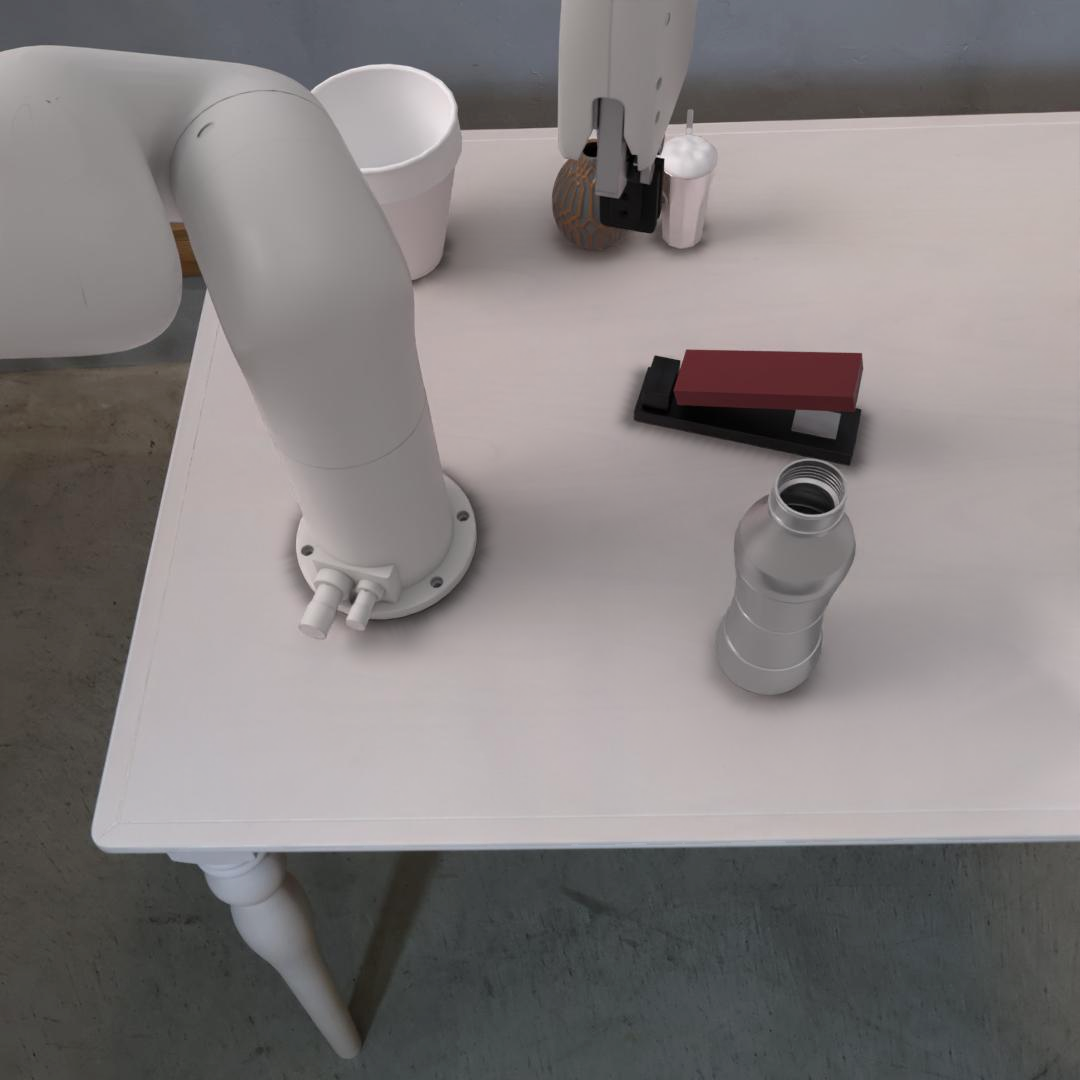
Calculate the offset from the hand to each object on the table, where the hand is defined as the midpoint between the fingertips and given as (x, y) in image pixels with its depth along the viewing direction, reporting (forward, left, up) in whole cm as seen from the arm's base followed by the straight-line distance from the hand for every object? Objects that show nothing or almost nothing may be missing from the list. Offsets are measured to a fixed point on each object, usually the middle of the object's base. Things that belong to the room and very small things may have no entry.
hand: (630, 219), depth 64 cm
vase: (+21, +8, -22) cm, 32 cm away
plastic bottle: (-14, -13, -22) cm, 29 cm away
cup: (+15, +23, -22) cm, 35 cm away
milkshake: (+23, +1, -22) cm, 32 cm away
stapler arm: (+5, -9, -18) cm, 21 cm away
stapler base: (+5, -8, -22) cm, 24 cm away
